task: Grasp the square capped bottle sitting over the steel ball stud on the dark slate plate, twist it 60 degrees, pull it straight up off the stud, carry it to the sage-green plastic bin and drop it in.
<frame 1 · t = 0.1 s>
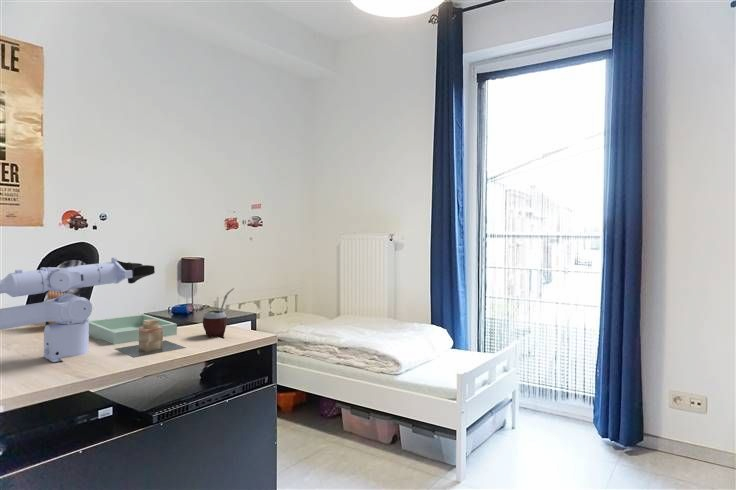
hand: (147, 268, 136), 22 cm above the worktop, tool horizontal, fingers open, 7 cm apart
ammunition clip: (56, 328, 155), on the worktop
square capped bottle: (150, 348, 129), point 1 cm above the worktop, touching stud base
bin: (130, 335, 146), on the worktop
mate gourd: (216, 338, 146), on the worktop
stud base: (150, 351, 129), on the worktop
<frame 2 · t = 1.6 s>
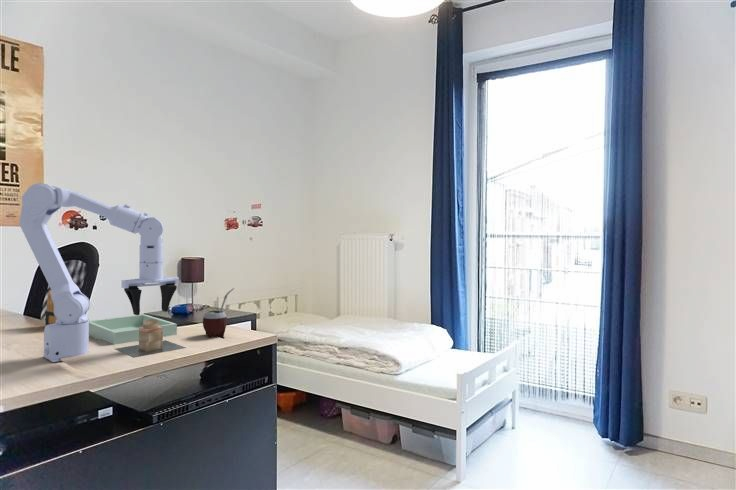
hand: (150, 312, 128), 10 cm above the worktop, tool pointing down, fingers open, 7 cm apart
nothing on the worktop moved.
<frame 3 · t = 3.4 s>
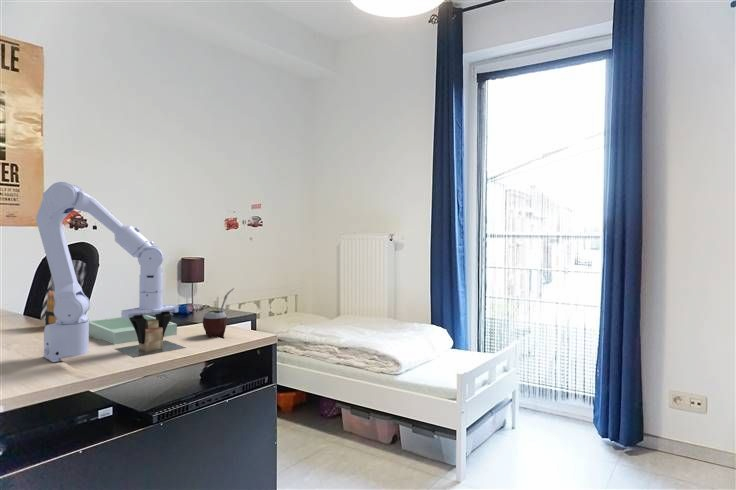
hand: (150, 341, 129), 3 cm above the worktop, tool pointing down, fingers closed on square capped bottle, 4 cm apart
square capped bottle: (150, 348, 129), point 1 cm above the worktop, touching gripper, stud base
everything else where it was.
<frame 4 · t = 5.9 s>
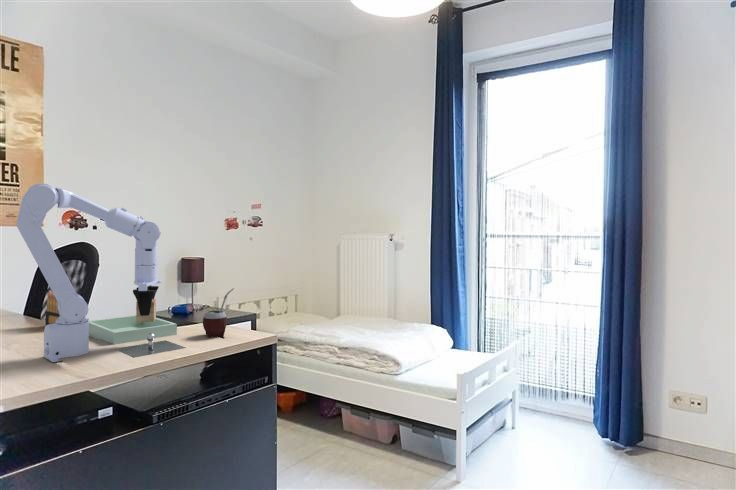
hand: (145, 313, 132), 9 cm above the worktop, tool pointing down, fingers closed on square capped bottle, 4 cm apart
square capped bottle: (146, 320, 132), point 7 cm above the worktop, touching gripper
everything else where it was.
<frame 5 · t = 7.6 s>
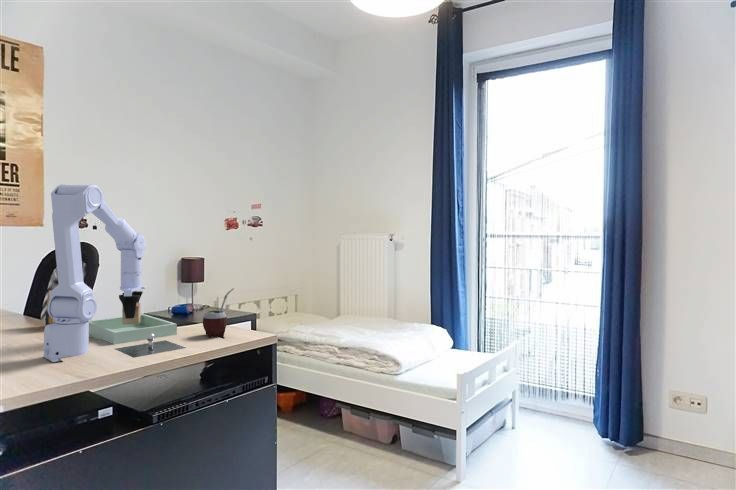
hand: (131, 316, 146), 6 cm above the worktop, tool pointing down, fingers closed on square capped bottle, 4 cm apart
square capped bottle: (131, 322, 146), point 4 cm above the worktop, touching gripper
everything else where it was.
when the fingers open (4 cm above the worktop, at t = 8.8 s): square capped bottle drops 1 cm, resting on bin.
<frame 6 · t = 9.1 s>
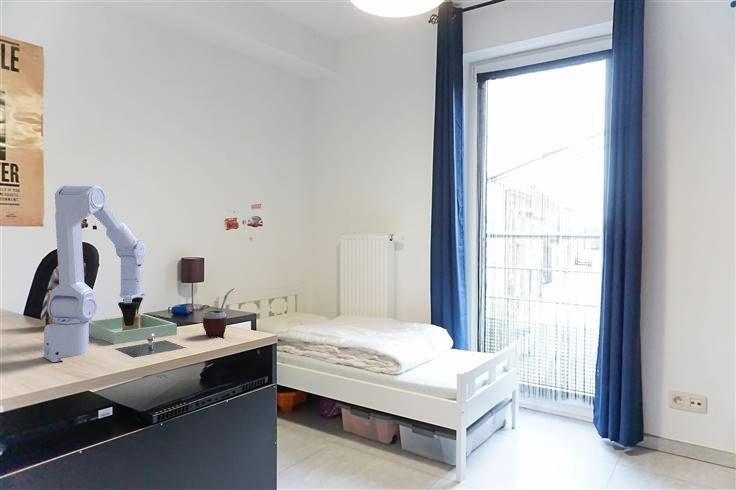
hand: (130, 323, 146), 4 cm above the worktop, tool pointing down, fingers open, 7 cm apart
square capped bottle: (131, 333, 146), point 1 cm above the worktop, touching bin
everything else where it was.
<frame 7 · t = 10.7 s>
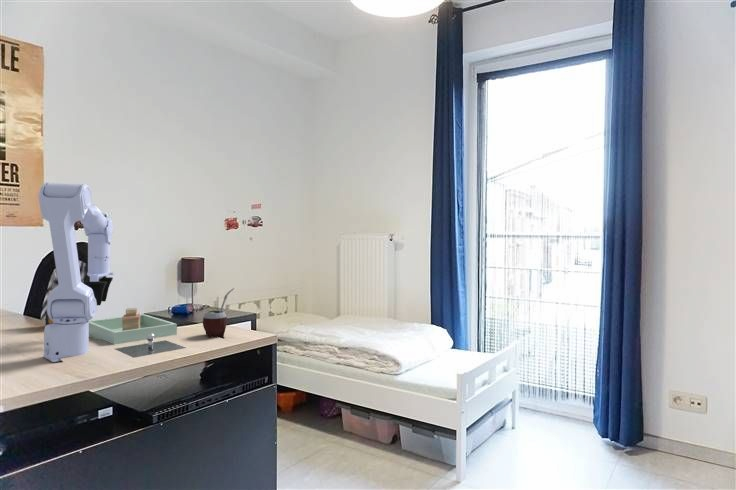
hand: (99, 303, 142), 10 cm above the worktop, tool pointing down, fingers open, 7 cm apart
nothing on the worktop moved.
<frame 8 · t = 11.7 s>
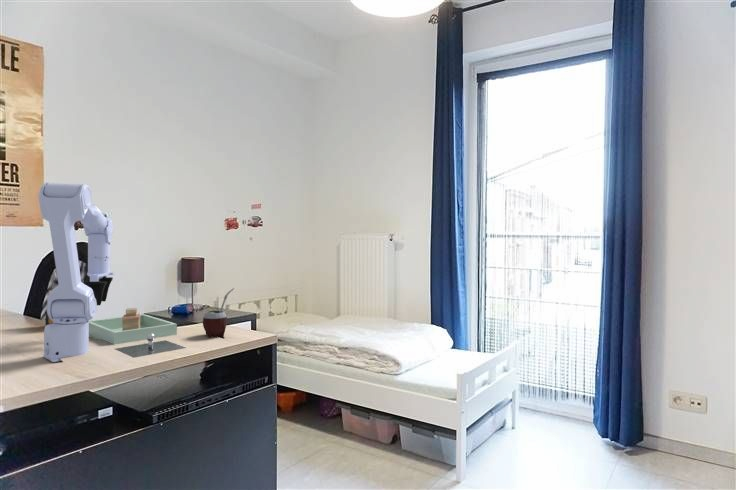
hand: (99, 303, 142), 10 cm above the worktop, tool pointing down, fingers open, 7 cm apart
nothing on the worktop moved.
at the end: square capped bottle inside the target area on the bin (0.1 cm from its centre), point 0.6 cm above the bin's base; the gripper is holding nothing; square capped bottle moved 22.3 cm from its start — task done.
